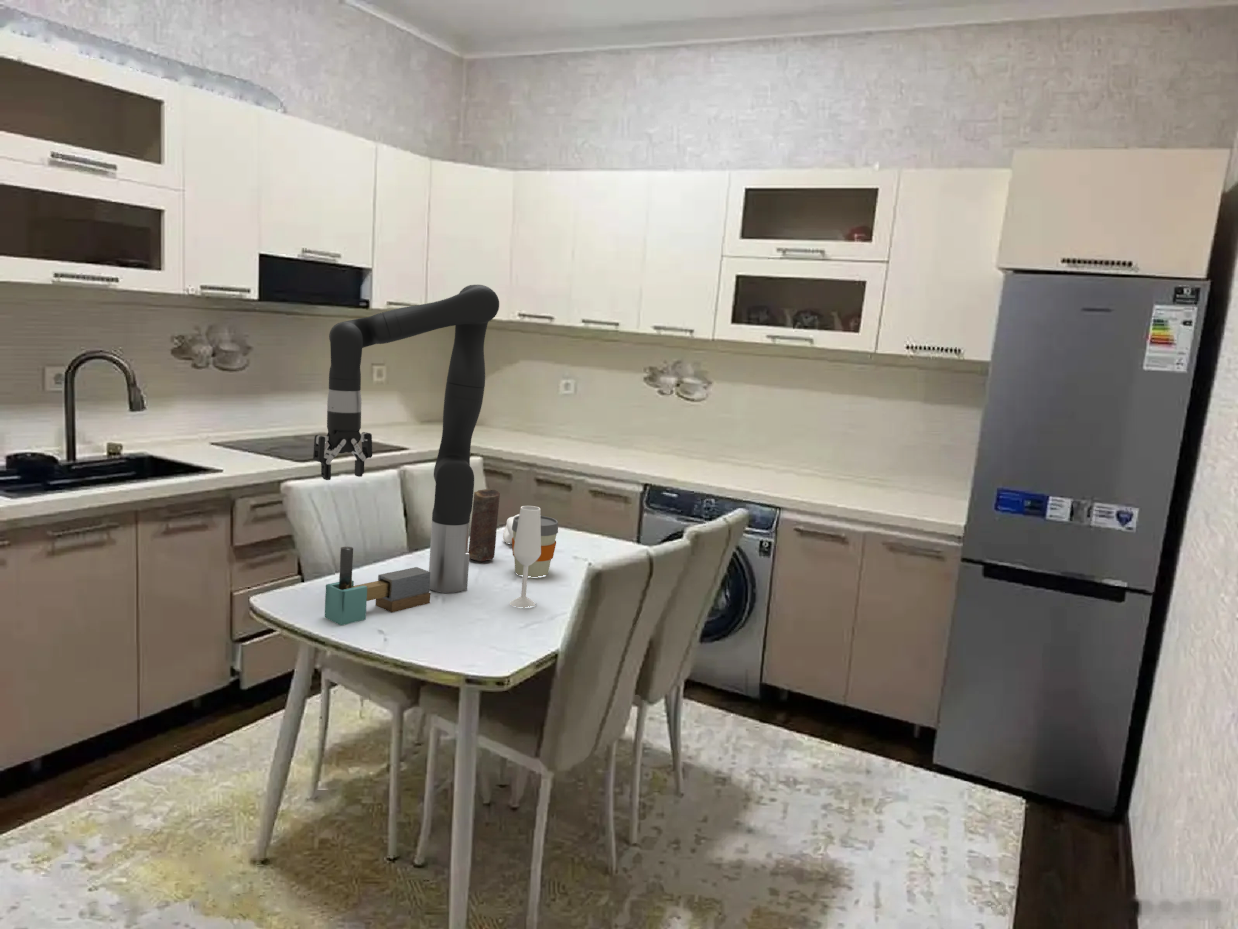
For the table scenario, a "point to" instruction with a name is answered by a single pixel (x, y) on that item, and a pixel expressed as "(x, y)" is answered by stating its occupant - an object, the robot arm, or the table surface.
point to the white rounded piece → (509, 530)
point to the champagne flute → (527, 547)
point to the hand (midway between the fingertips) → (343, 477)
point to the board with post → (373, 588)
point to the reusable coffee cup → (547, 547)
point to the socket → (345, 603)
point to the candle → (484, 525)
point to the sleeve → (405, 589)
